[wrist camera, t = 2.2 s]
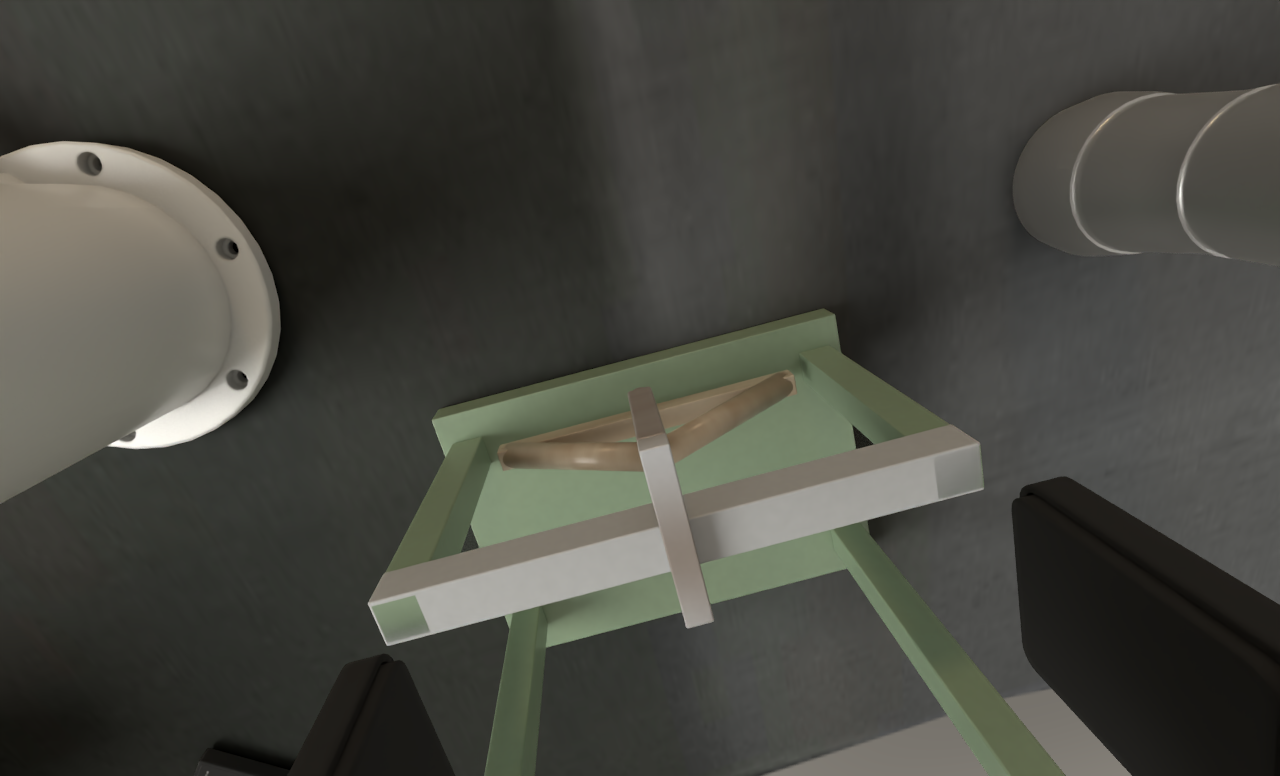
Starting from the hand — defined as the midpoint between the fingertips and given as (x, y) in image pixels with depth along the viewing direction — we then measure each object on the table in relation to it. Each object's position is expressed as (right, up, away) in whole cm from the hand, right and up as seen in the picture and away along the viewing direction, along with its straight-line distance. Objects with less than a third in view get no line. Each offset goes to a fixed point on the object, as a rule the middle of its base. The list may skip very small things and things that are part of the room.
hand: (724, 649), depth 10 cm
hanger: (-1, +3, +18) cm, 19 cm away
